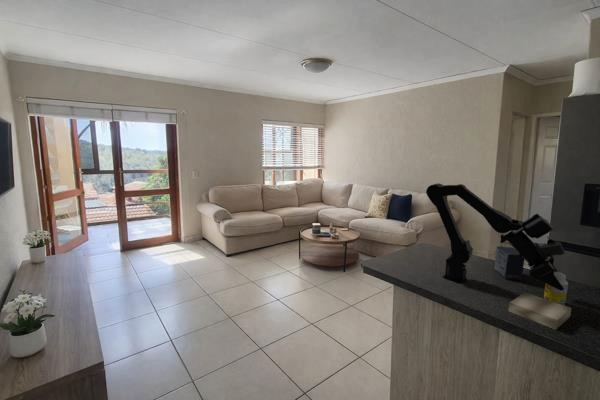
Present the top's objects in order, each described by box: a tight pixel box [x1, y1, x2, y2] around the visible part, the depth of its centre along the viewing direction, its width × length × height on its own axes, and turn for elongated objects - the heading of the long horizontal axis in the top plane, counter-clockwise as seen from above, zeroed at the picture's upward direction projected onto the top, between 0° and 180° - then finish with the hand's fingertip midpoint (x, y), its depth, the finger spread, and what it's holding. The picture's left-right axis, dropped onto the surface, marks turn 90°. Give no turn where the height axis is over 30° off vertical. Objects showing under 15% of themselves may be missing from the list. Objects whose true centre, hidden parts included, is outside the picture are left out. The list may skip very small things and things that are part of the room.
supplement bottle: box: [543, 271, 569, 306], centre depth 99 cm, size 6×6×10 cm
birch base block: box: [507, 292, 572, 330], centre depth 93 cm, size 12×12×3 cm
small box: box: [493, 245, 525, 281], centre depth 122 cm, size 11×6×10 cm, turn 168°
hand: (562, 285), depth 98 cm, fingers open, 9 cm apart
